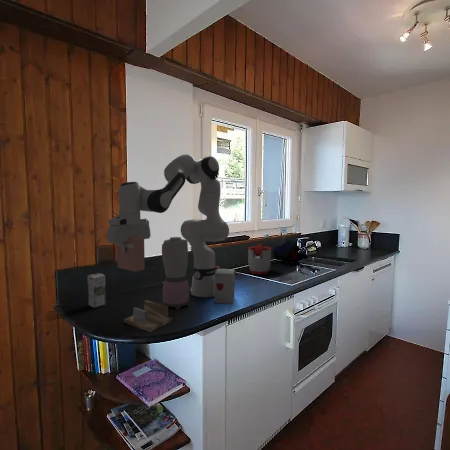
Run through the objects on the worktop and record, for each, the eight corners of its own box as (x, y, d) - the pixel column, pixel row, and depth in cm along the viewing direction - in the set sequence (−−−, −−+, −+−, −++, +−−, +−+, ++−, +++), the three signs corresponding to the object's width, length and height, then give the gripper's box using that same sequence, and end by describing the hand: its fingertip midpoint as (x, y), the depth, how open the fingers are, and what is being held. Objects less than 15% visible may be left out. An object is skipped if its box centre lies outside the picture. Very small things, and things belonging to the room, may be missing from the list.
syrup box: (99, 302, 145) (98, 272, 143) (106, 305, 141) (105, 274, 140) (88, 305, 141) (87, 275, 139) (94, 308, 137) (93, 277, 135)
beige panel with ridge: (147, 313, 132) (147, 298, 131) (172, 321, 123) (172, 306, 123) (124, 322, 122) (123, 307, 121) (149, 332, 114) (149, 315, 113)
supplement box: (214, 303, 145) (214, 272, 143) (217, 297, 154) (217, 268, 152) (232, 304, 144) (233, 273, 142) (234, 298, 152) (235, 269, 151)
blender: (194, 304, 143) (194, 237, 140) (175, 311, 134) (174, 240, 130) (172, 297, 153) (172, 234, 150) (153, 303, 144) (152, 237, 140)
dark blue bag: (286, 272, 241) (318, 269, 218) (263, 263, 228) (295, 259, 204) (289, 247, 249) (320, 242, 225) (267, 237, 235) (297, 231, 212)
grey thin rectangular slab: (135, 319, 122) (135, 307, 121) (147, 323, 118) (147, 311, 117) (133, 320, 121) (133, 308, 120) (145, 324, 117) (144, 312, 116)
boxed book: (127, 265, 137) (126, 235, 136) (144, 269, 131) (144, 237, 129) (117, 267, 133) (116, 236, 132) (135, 271, 126) (134, 238, 125)
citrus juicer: (244, 275, 196) (245, 245, 194) (250, 269, 212) (250, 241, 210) (268, 277, 191) (269, 246, 189) (272, 271, 208) (273, 242, 206)
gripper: (144, 217, 140) (144, 247, 141) (104, 220, 123) (105, 254, 125) (153, 218, 136) (153, 248, 138) (114, 221, 120) (115, 255, 121)
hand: (130, 251), depth 131 cm, fingers closed on boxed book, 5 cm apart
